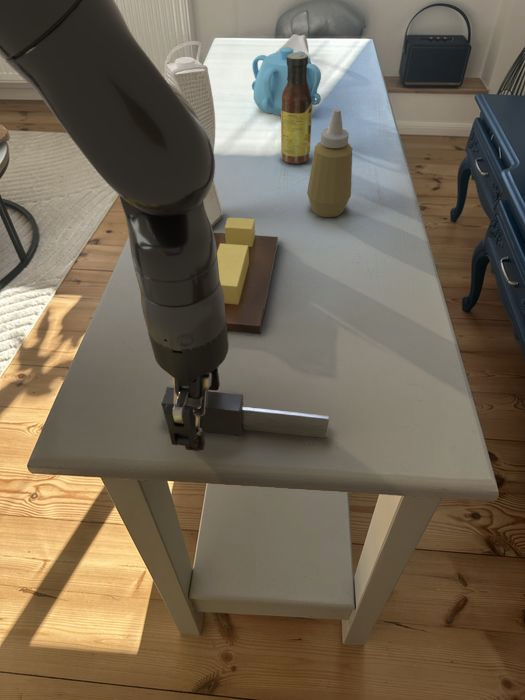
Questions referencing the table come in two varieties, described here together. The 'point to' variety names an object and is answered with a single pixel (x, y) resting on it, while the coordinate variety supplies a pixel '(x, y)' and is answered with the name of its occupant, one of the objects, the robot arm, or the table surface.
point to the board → (252, 285)
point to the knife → (252, 417)
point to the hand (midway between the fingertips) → (203, 416)
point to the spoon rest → (297, 44)
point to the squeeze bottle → (331, 170)
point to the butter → (232, 270)
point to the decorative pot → (279, 80)
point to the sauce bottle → (296, 111)
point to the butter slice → (240, 231)
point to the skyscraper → (197, 106)
